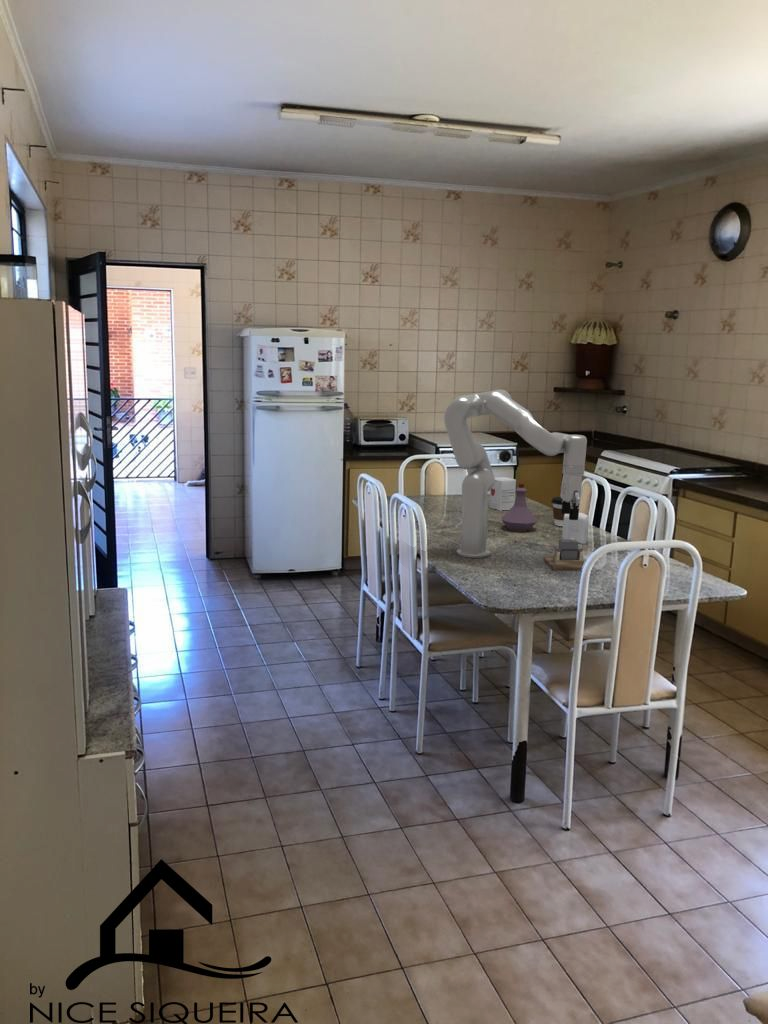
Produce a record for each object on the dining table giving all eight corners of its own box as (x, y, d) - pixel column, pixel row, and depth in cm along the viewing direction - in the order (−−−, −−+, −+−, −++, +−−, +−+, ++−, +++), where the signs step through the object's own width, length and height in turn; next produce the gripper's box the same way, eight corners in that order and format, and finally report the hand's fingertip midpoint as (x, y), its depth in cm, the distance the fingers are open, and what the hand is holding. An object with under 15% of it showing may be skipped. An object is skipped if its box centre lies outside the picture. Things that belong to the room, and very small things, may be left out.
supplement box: (488, 508, 395) (490, 477, 392) (503, 506, 399) (505, 476, 396) (499, 511, 387) (501, 480, 384) (514, 510, 391) (516, 479, 388)
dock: (543, 559, 303) (544, 545, 302) (580, 560, 304) (581, 545, 303) (553, 570, 289) (554, 555, 288) (591, 570, 290) (593, 555, 289)
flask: (507, 534, 342) (509, 487, 338) (494, 525, 358) (496, 480, 354) (544, 533, 346) (547, 486, 341) (529, 524, 361) (532, 480, 357)
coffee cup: (568, 529, 352) (570, 502, 350) (545, 525, 359) (547, 499, 356) (579, 525, 361) (580, 498, 359) (556, 521, 367) (558, 495, 365)
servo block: (552, 560, 298) (554, 537, 296) (578, 560, 299) (580, 537, 297) (555, 563, 294) (557, 539, 292) (581, 563, 295) (583, 539, 293)
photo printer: (588, 542, 330) (590, 512, 328) (584, 544, 327) (587, 514, 324) (564, 538, 336) (566, 509, 333) (560, 540, 333) (562, 511, 330)
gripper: (556, 465, 297) (553, 511, 301) (570, 473, 281) (565, 522, 284) (576, 466, 298) (572, 511, 302) (591, 474, 281) (587, 522, 285)
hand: (569, 516), depth 293 cm, fingers open, 9 cm apart
